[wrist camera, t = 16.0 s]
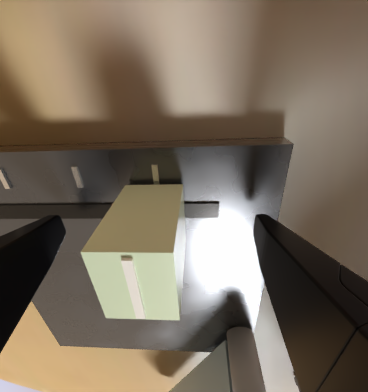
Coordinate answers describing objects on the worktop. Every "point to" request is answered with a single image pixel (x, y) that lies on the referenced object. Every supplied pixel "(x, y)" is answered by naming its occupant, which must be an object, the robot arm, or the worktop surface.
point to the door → (227, 367)
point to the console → (194, 225)
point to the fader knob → (140, 254)
